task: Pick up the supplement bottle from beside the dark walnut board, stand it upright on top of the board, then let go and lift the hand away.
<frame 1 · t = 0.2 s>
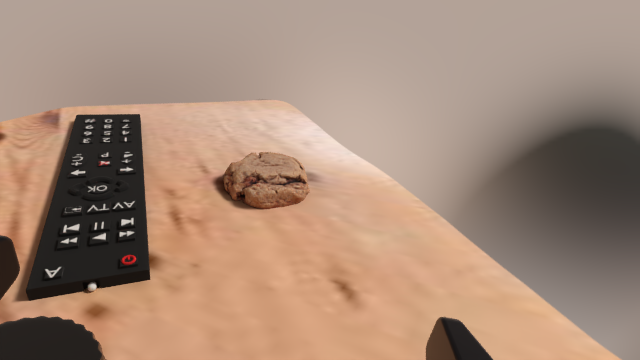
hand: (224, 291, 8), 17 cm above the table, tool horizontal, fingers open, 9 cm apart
remote control: (105, 186, 40), on the table
cookie: (267, 187, 44), on the table
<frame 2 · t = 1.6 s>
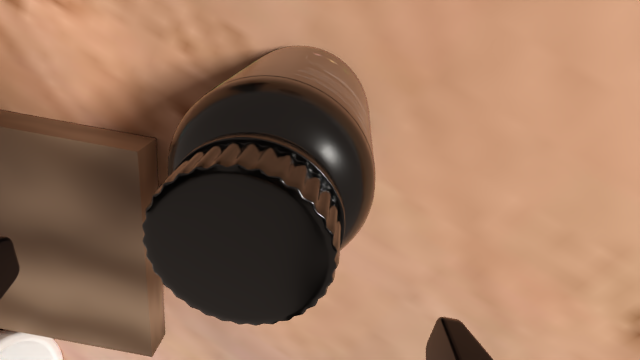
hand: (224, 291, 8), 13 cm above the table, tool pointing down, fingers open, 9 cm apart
walnut board: (42, 228, 25), on the table
supplement bottle: (303, 111, 20), on the table
mug: (20, 359, 32), on the table
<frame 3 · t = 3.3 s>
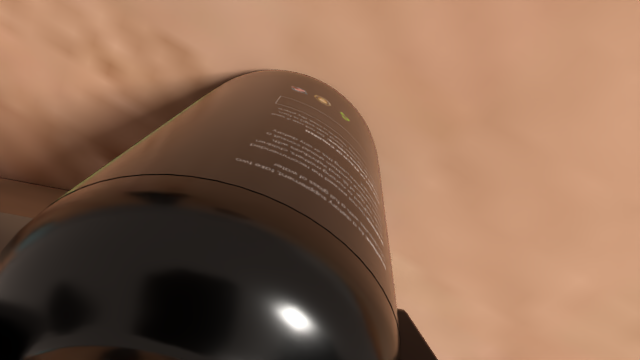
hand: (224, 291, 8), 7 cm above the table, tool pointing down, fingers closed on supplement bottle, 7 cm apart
supplement bottle: (283, 160, 14), on the table, touching gripper
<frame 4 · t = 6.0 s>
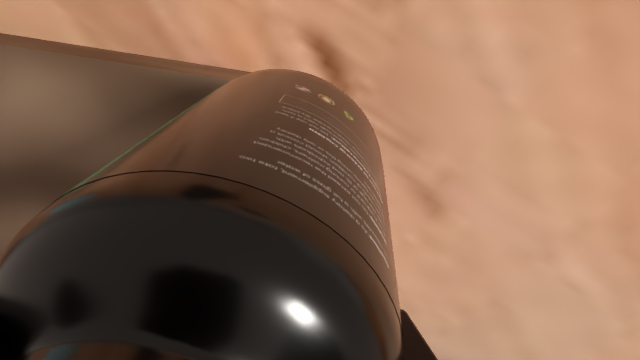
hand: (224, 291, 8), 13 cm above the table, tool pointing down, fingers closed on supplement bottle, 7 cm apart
walnut board: (134, 189, 22), on the table
supplement bottle: (287, 159, 14), point 6 cm above the table, touching gripper
when the fingers open (10 cm above the table, at t = 8.5 s): supplement bottle drops 1 cm, resting on walnut board.
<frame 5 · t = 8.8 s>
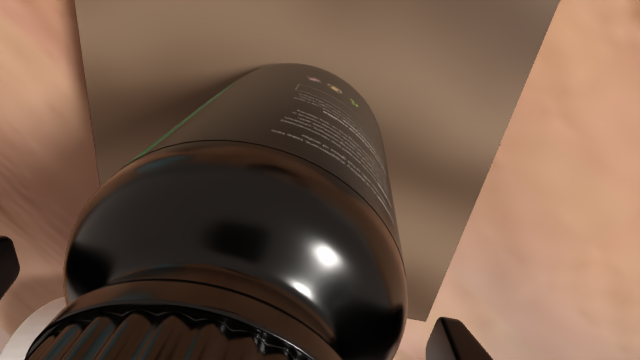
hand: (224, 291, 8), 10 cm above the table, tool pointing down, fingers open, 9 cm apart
walnut board: (293, 129, 17), on the table
supplement bottle: (296, 146, 15), point 2 cm above the table, touching walnut board
mug: (188, 331, 24), on the table
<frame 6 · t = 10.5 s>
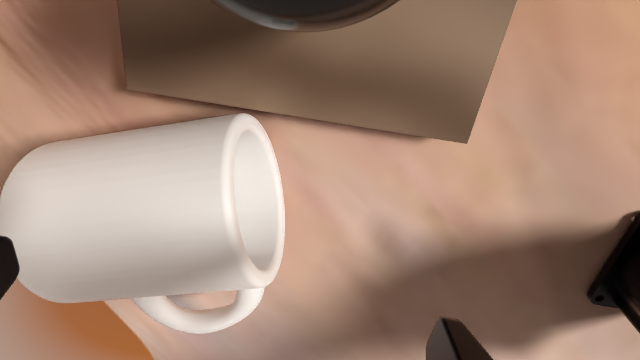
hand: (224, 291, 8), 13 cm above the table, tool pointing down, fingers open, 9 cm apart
mug: (207, 201, 23), on the table
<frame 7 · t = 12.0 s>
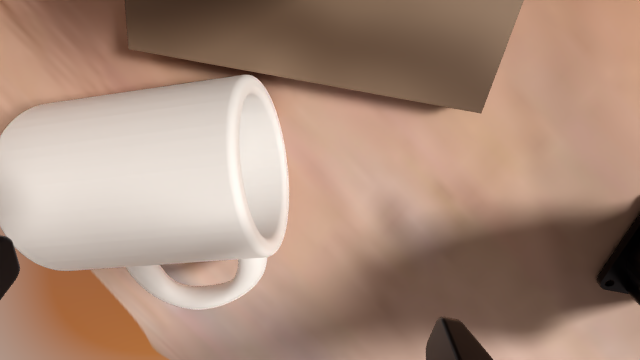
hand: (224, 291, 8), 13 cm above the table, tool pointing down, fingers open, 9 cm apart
mug: (208, 175, 22), on the table
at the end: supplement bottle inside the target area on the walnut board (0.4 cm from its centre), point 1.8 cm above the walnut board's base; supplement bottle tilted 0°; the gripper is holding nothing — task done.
